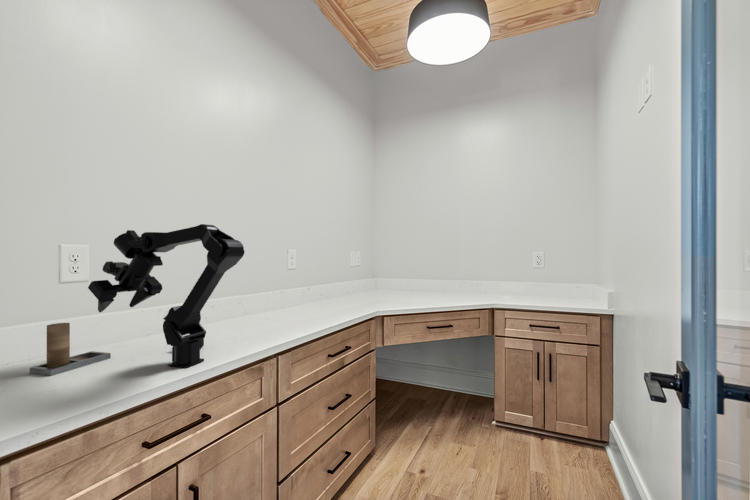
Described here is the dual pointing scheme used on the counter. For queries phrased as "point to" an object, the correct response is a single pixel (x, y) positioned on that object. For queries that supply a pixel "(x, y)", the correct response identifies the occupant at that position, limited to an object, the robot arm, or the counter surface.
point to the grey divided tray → (71, 363)
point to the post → (58, 345)
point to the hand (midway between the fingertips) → (115, 308)
